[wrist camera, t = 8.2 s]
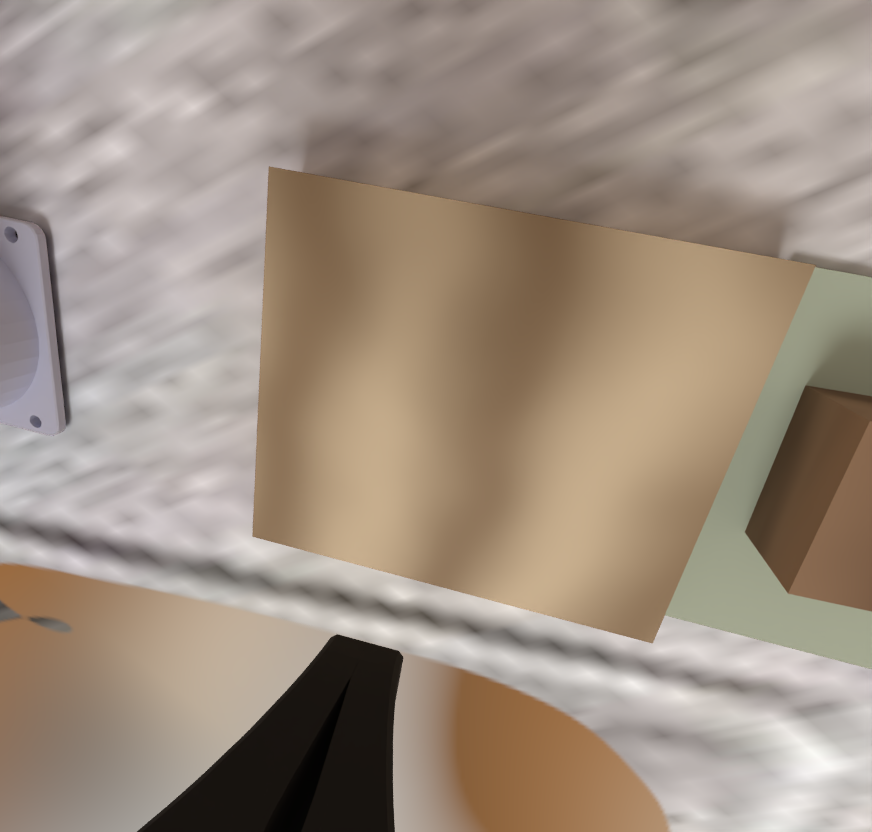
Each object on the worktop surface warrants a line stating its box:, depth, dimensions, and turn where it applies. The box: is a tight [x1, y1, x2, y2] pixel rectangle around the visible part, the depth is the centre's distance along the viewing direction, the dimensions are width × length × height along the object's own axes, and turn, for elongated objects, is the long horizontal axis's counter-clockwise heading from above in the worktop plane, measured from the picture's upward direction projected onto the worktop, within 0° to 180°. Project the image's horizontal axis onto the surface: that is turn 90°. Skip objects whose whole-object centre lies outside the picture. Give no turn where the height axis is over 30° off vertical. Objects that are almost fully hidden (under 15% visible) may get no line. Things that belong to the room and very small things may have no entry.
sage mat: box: [665, 267, 872, 669], centre depth 15 cm, size 9×12×1 cm
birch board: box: [253, 167, 816, 643], centre depth 16 cm, size 14×12×2 cm
